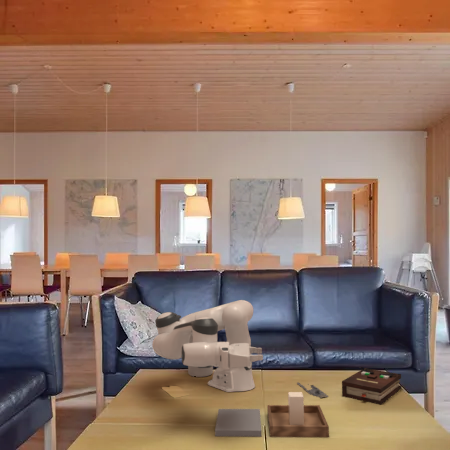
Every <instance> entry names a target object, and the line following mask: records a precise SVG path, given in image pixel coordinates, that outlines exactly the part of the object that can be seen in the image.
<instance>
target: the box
mask: <svg viewBox="0 0 450 450" xmlns="http://www.w3.org/2000/svg"><path fill="white" fill-rule="evenodd" d="M266 406H267V419H268V420H267V422H268V427H269V428H268V429H269V437H271V438H273V437H275V438H276V437H281V438H282V437H283V438H284V437H285V438H286V437H287V438H291V437H292V438H293V437H295V438H301V437H302V438H330V426H329V424H328V421H327V420H326V418H325V414H324V412H323V411H322V408H321V406H320V404H318V405H317V404H316V405H315V404H312V405H311V404H309V405H308V404H306V405H304V425H290V423H289V406H288V404H268V405H266Z"/></svg>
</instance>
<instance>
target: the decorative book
mask: <svg viewBox="0 0 450 450" xmlns="http://www.w3.org/2000/svg"><path fill="white" fill-rule="evenodd" d="M359 369H360V370H359V371H358V372H356V373H354V374H352V375H351V376H348V377H347V378H346V379H344V380H342V381H341V396H342V397H344V398H347V399H348V398H349V399H353V400H357V401H362V402H365V403H371V404H375V405H383V404H384V403H385V402H387V401H386V400H389V399H390V398H391V396H392V397H393V396H394V395H395V394H396V393H398V392H399V391H401V389H402V385H400V382H401V380H400V379H402V373H396V372H389V371H386V370H378V369H372V368H366V367H362V366H360V367H359Z"/></svg>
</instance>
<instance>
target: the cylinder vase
mask: <svg viewBox="0 0 450 450" xmlns="http://www.w3.org/2000/svg"><path fill="white" fill-rule="evenodd" d="M189 343H193V336H190V340H189ZM187 369H188V371H187V372H188V373H187V374H188V375H189V376H191V377H194V376H196V377H195V378H203V377H204V378H205V377H209V376H211V375H213V373H214V366H212V367H211V368H198V367H195V366H187Z"/></svg>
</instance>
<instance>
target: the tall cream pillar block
mask: <svg viewBox="0 0 450 450" xmlns="http://www.w3.org/2000/svg"><path fill="white" fill-rule="evenodd" d="M287 394H288V395H287V397H288V398H287V399H288V404H287V405H288V406H289V423H290V425H304V404H305V403H304V402H305V401H304V400H305V399H304V398H305V397H304V394H303V392H302V391H289V392H288V391H287Z"/></svg>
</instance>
